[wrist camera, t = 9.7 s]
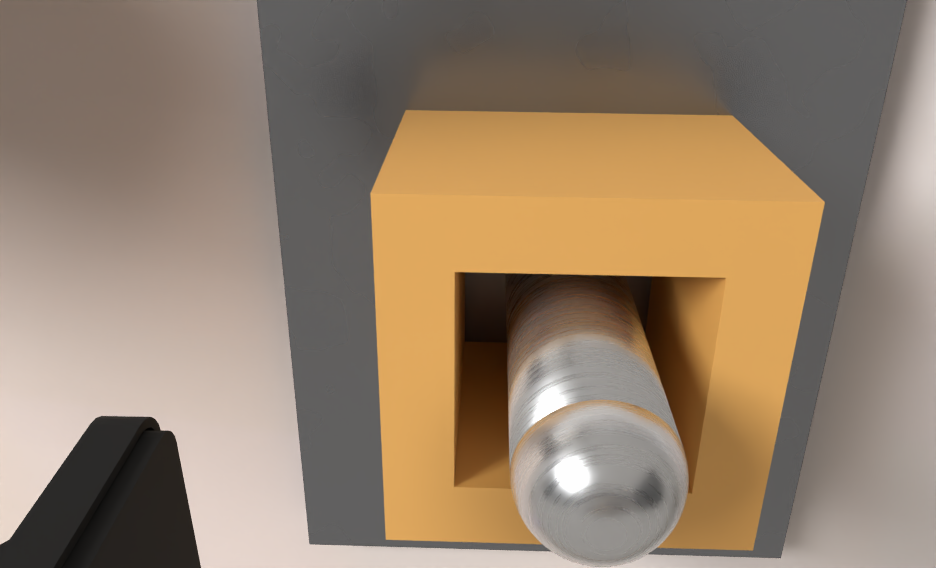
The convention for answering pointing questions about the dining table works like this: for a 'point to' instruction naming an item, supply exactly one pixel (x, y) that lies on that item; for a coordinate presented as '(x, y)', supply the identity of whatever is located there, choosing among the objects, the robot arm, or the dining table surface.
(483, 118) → the orange hollow square block
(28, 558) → the robot arm
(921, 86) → the dining table surface
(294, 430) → the dining table surface
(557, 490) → the keeper
